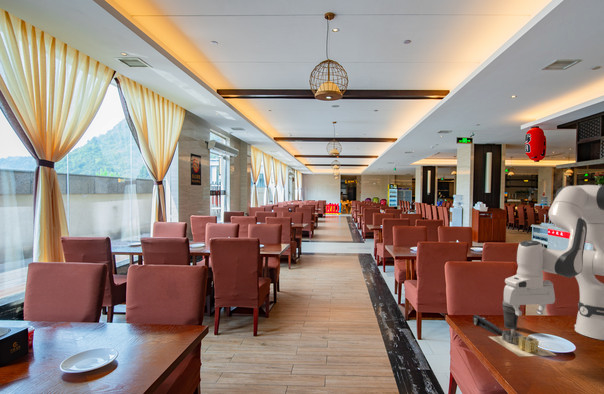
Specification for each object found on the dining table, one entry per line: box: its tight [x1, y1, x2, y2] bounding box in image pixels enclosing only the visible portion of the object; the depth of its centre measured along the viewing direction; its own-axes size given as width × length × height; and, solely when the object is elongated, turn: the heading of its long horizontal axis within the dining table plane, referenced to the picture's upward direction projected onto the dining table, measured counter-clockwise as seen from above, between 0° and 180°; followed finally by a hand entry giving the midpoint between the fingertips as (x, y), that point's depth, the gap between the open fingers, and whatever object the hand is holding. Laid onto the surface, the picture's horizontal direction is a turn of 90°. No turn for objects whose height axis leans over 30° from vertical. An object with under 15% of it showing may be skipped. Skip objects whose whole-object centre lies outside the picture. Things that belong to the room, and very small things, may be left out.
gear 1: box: [501, 329, 525, 345], centre depth 141 cm, size 8×8×3 cm
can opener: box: [472, 314, 503, 336], centre depth 154 cm, size 18×7×6 cm, turn 9°
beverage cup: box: [501, 299, 521, 331], centre depth 155 cm, size 7×7×20 cm
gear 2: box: [518, 335, 540, 354], centre depth 132 cm, size 7×7×4 cm
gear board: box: [488, 329, 557, 357], centre depth 136 cm, size 16×18×6 cm
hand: (529, 314), depth 133 cm, fingers open, 8 cm apart
